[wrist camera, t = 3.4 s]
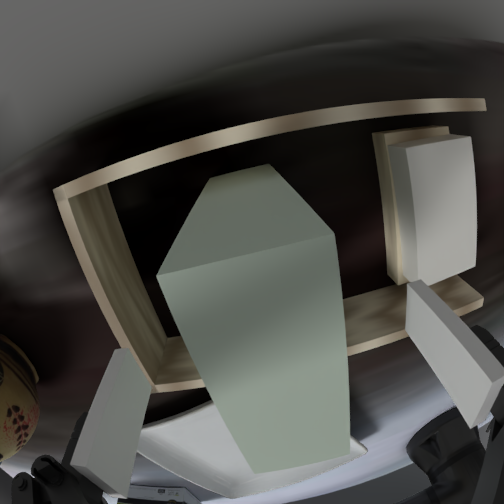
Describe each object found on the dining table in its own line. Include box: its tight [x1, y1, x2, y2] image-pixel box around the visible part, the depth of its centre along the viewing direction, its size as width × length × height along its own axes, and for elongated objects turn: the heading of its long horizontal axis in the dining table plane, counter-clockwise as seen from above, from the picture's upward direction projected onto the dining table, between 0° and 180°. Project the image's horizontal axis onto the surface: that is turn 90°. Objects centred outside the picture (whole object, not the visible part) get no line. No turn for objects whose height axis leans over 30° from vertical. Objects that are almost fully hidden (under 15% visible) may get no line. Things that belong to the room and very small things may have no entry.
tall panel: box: [156, 164, 350, 474], centre depth 19 cm, size 5×12×18 cm, turn 13°
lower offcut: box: [372, 125, 449, 285], centre depth 25 cm, size 7×14×3 cm, turn 14°
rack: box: [53, 98, 487, 393], centre depth 24 cm, size 32×19×7 cm, turn 103°
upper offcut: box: [387, 134, 477, 286], centre depth 23 cm, size 7×12×3 cm, turn 16°
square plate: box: [137, 400, 368, 499], centre depth 37 cm, size 27×27×4 cm
